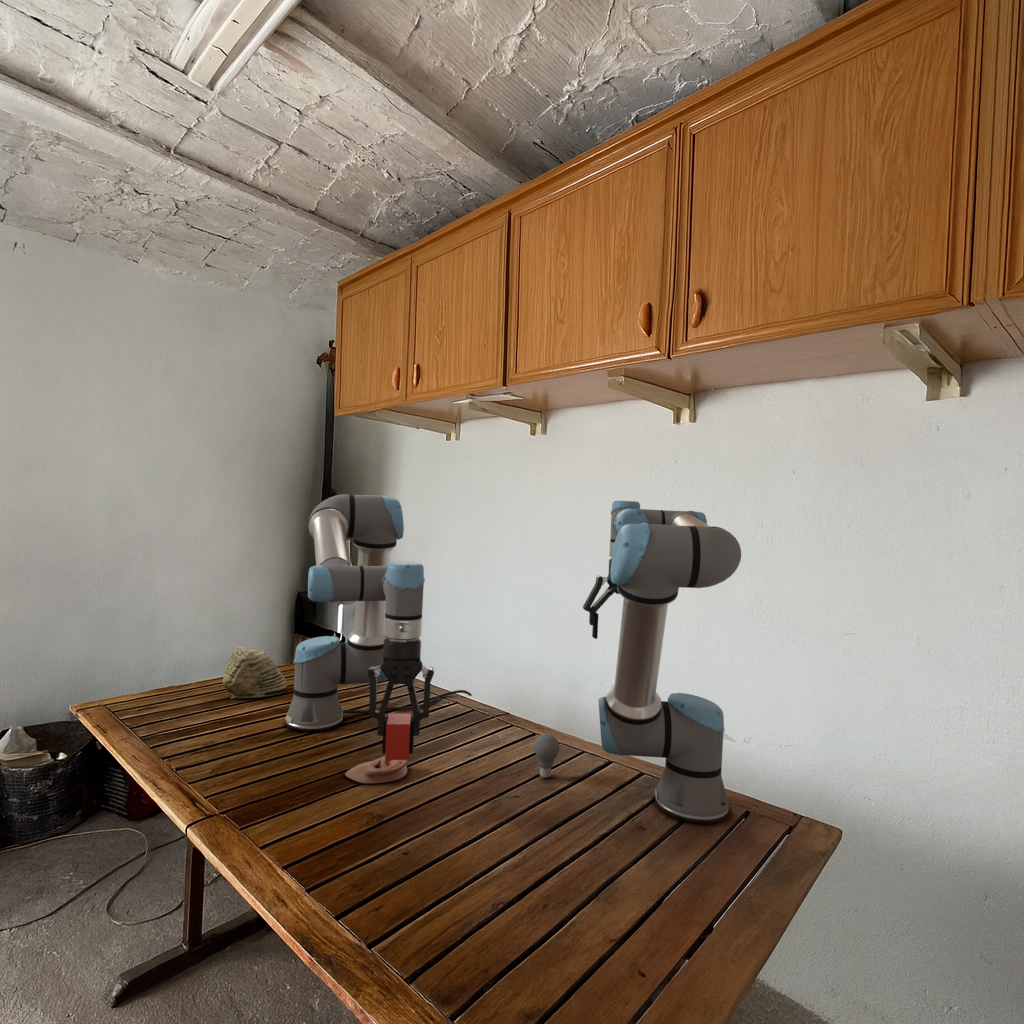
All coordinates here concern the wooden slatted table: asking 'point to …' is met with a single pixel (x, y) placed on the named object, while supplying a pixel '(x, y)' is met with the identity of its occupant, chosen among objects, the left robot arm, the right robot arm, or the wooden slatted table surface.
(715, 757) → the right robot arm
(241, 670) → the fossil
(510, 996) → the wooden slatted table surface
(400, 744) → the block
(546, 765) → the light bulb
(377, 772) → the anatomical model
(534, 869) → the wooden slatted table surface
